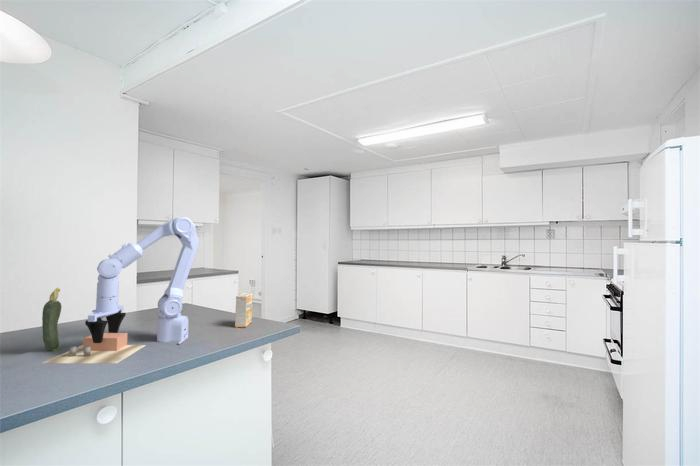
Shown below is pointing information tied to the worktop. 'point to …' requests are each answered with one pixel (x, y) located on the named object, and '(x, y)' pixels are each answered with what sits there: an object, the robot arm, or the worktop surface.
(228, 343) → the worktop surface
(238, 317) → the supplement box
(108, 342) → the pink channel block
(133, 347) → the board
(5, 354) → the worktop surface
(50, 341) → the vegetable
